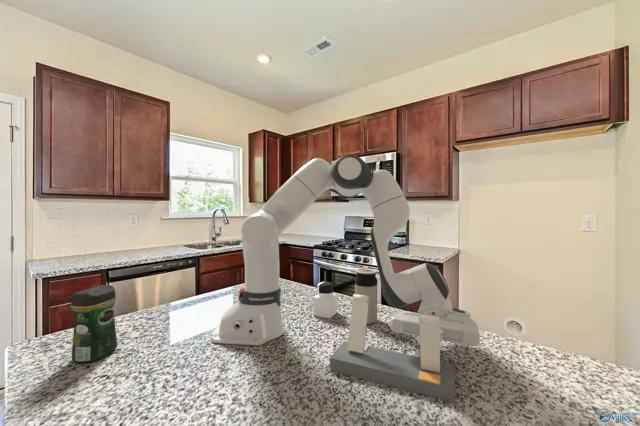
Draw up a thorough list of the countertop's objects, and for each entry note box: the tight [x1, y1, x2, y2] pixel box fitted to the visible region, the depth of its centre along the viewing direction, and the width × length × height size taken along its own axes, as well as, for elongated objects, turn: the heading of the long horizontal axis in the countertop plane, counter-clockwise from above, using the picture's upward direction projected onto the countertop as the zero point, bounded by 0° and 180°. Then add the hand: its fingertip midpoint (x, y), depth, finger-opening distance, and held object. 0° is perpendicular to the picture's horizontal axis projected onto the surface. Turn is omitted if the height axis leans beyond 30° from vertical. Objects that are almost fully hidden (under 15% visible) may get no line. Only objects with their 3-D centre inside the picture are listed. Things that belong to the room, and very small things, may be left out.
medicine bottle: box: [312, 281, 338, 319], centre depth 108 cm, size 7×7×12 cm
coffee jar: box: [70, 284, 118, 364], centre depth 77 cm, size 10×8×19 cm
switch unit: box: [329, 340, 456, 404], centre depth 69 cm, size 28×10×3 cm, turn 65°
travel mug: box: [354, 267, 378, 325], centre depth 102 cm, size 8×8×18 cm
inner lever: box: [347, 293, 369, 353], centre depth 75 cm, size 4×2×14 cm, turn 65°
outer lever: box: [419, 314, 441, 373], centre depth 63 cm, size 4×2×14 cm, turn 65°
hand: (430, 340), depth 64 cm, fingers closed, pressing on outer lever
